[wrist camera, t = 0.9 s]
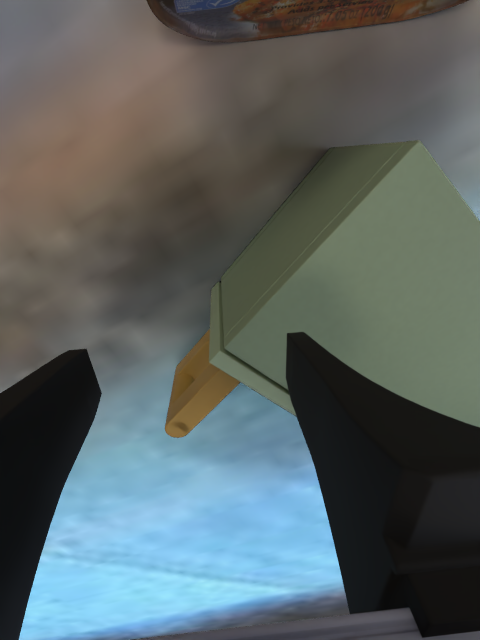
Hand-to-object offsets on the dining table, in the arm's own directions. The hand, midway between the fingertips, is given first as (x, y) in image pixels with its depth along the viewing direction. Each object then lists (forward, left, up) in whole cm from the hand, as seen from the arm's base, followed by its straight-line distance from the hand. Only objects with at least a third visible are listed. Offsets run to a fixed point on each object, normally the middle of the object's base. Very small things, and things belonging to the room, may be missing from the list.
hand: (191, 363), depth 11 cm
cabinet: (-9, -5, -10) cm, 15 cm away
